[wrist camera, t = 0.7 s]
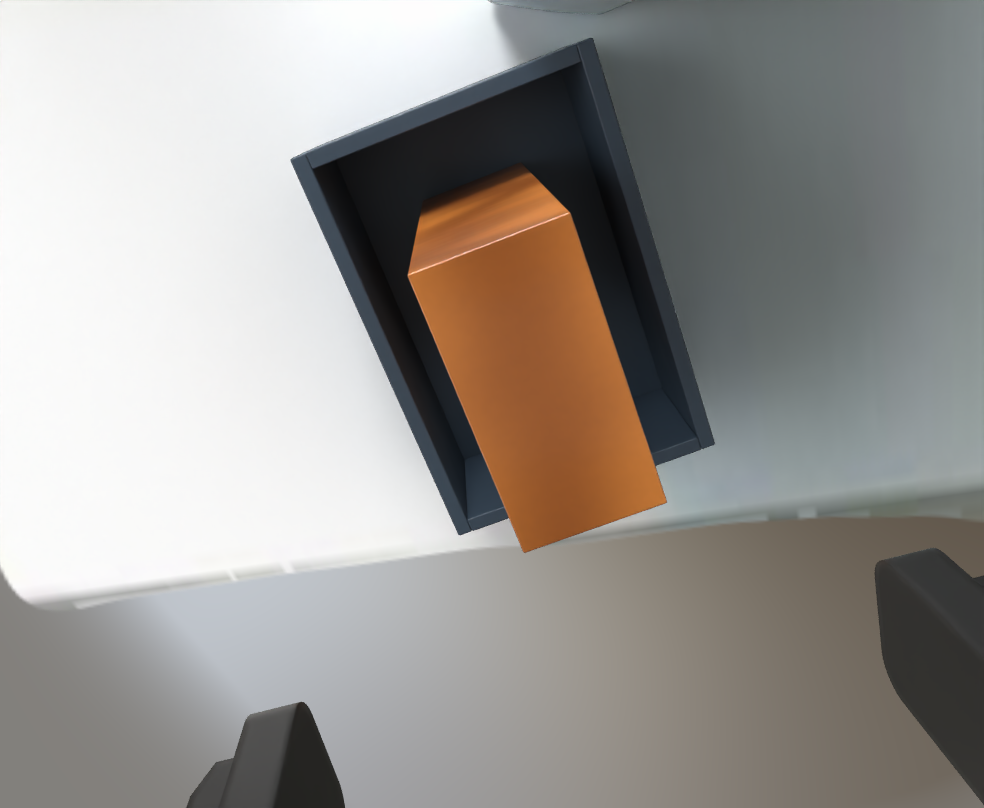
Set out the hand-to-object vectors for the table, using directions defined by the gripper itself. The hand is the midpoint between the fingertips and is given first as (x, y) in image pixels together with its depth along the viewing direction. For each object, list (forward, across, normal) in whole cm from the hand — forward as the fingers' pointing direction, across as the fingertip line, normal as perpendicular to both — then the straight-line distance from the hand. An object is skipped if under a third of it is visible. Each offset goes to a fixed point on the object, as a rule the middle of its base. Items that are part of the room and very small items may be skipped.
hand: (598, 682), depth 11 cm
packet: (+27, -1, 0) cm, 27 cm away
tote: (+28, -1, 0) cm, 28 cm away
